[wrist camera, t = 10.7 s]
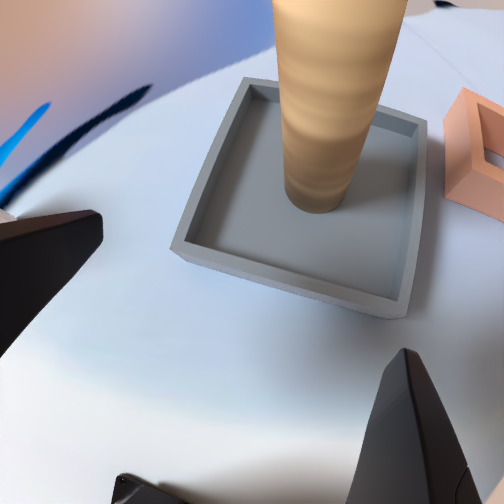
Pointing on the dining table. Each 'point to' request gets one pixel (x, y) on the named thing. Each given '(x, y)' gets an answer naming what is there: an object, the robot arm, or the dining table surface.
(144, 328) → the dining table surface
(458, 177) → the terracotta socket
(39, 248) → the robot arm
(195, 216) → the tray
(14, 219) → the eye dropper bottle
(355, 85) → the oak dowel
